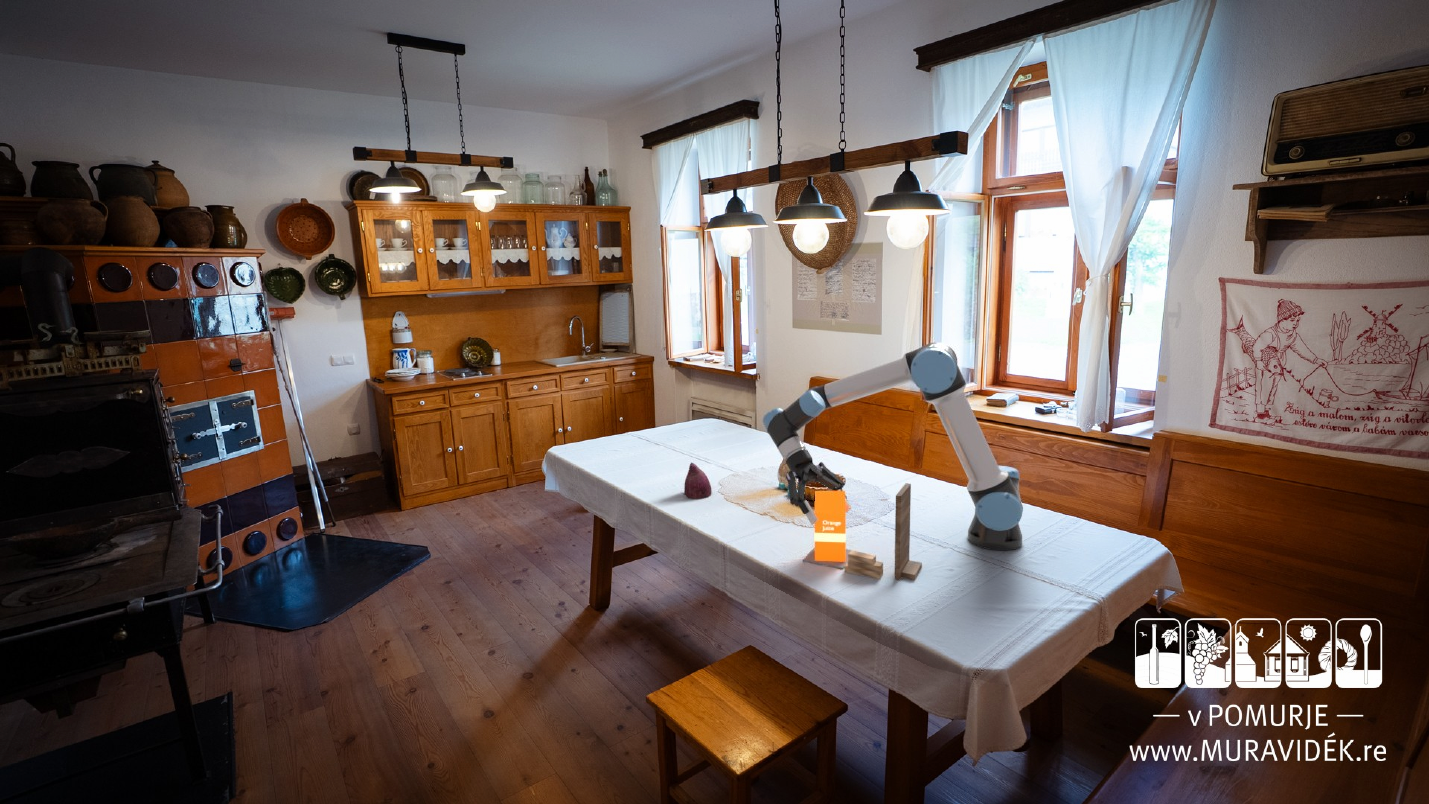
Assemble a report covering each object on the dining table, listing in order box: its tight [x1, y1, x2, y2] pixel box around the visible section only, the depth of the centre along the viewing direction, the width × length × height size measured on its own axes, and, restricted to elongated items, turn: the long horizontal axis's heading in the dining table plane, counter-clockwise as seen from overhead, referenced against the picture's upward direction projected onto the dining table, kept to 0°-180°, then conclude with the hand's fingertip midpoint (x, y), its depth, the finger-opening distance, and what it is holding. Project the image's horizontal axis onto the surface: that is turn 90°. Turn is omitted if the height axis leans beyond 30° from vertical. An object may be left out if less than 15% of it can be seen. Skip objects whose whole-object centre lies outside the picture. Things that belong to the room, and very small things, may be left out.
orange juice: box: [813, 490, 847, 562], centre depth 193 cm, size 8×9×20 cm
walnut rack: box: [843, 482, 923, 581], centre depth 183 cm, size 18×12×24 cm, turn 60°
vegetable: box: [683, 462, 713, 500], centre depth 248 cm, size 10×10×15 cm
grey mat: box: [802, 547, 852, 570], centre depth 195 cm, size 12×12×1 cm
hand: (832, 516), depth 191 cm, fingers open, 13 cm apart
